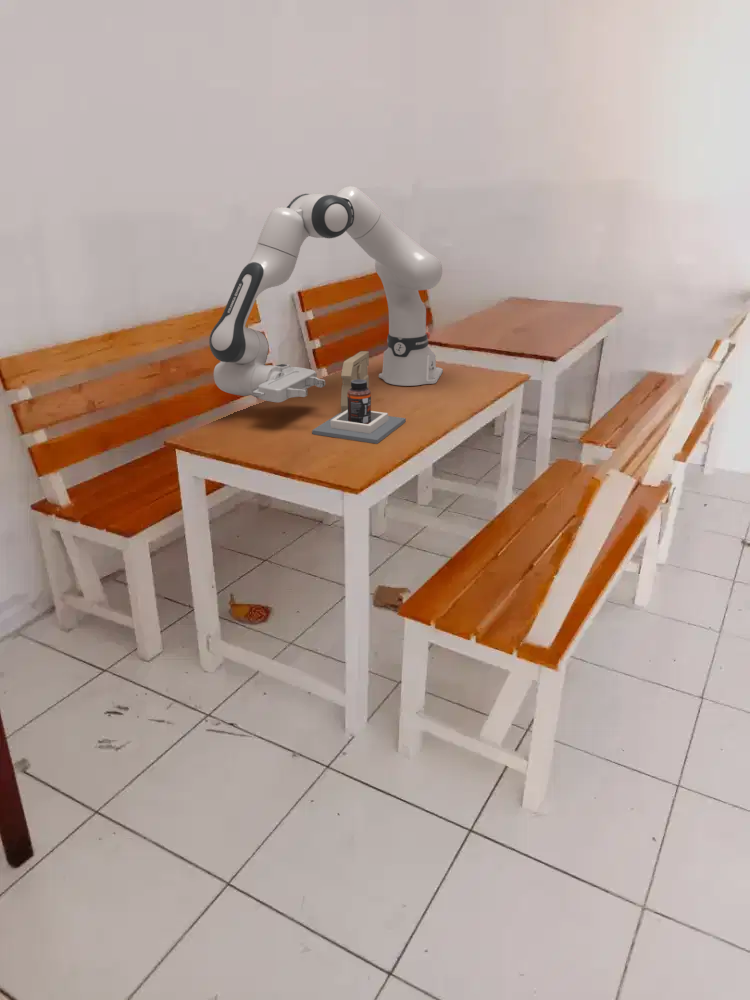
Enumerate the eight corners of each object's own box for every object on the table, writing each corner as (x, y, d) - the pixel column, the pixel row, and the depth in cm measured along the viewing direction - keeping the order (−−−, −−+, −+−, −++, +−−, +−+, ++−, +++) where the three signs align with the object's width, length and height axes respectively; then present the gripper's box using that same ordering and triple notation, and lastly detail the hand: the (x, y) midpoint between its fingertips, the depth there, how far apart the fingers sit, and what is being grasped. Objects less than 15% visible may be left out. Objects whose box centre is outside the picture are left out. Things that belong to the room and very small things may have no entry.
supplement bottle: (372, 427, 200) (372, 383, 195) (349, 428, 199) (348, 385, 194) (369, 419, 205) (368, 377, 200) (346, 421, 204) (345, 378, 200)
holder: (344, 413, 213) (344, 402, 212) (405, 421, 206) (405, 410, 205) (312, 434, 198) (311, 422, 197) (377, 443, 191) (377, 432, 190)
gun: (351, 421, 208) (351, 364, 203) (339, 420, 209) (339, 364, 204) (369, 402, 231) (370, 350, 226) (358, 401, 231) (358, 350, 227)
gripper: (246, 380, 199) (294, 386, 193) (288, 362, 216) (332, 367, 210) (248, 404, 201) (295, 411, 196) (289, 384, 218) (333, 390, 213)
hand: (315, 388), depth 203 cm, fingers open, 8 cm apart
